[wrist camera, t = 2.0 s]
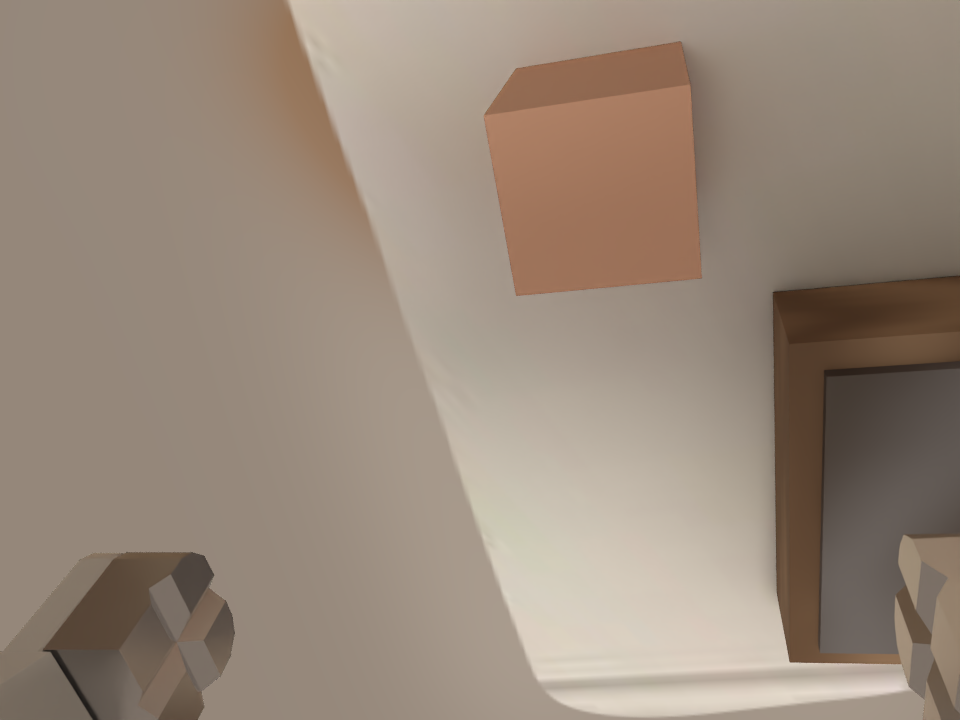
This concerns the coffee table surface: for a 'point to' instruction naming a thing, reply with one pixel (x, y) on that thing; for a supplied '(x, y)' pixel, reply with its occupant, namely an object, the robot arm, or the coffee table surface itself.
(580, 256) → the terracotta block
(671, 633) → the coffee table surface
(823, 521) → the walnut plinth
